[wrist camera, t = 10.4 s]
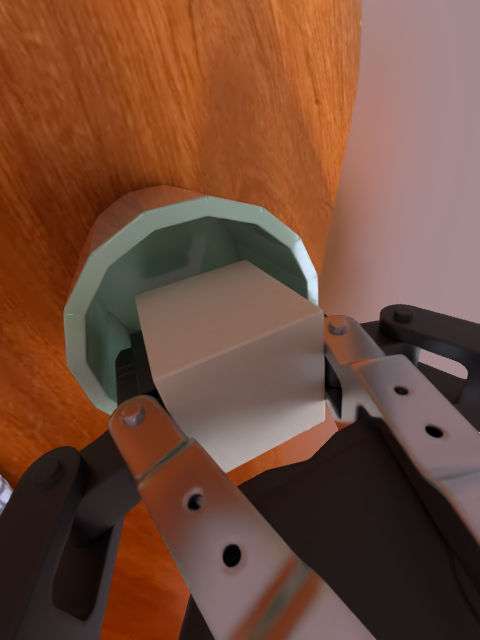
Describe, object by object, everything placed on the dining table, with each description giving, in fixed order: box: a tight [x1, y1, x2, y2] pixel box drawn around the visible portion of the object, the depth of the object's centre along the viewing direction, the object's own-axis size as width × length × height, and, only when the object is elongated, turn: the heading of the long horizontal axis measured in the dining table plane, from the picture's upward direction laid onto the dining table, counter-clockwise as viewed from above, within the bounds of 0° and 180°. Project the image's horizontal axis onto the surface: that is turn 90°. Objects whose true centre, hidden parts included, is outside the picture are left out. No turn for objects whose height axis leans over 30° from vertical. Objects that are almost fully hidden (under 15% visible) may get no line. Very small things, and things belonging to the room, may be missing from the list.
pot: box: [63, 185, 318, 415], centre depth 14 cm, size 10×10×8 cm
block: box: [135, 260, 325, 473], centre depth 10 cm, size 4×4×5 cm
